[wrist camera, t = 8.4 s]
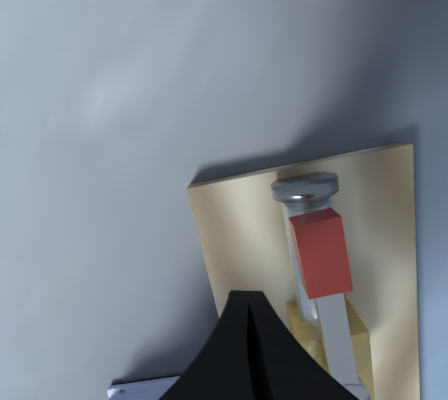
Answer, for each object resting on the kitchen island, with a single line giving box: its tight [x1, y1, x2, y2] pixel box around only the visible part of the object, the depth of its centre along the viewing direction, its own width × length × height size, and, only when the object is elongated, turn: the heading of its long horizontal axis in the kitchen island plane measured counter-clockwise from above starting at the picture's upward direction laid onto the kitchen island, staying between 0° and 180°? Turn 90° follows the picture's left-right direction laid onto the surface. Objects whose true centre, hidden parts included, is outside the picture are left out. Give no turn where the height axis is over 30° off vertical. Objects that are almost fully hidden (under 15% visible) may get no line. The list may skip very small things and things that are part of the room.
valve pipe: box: [271, 172, 375, 400], centre depth 19 cm, size 4×25×6 cm, turn 12°
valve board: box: [187, 142, 420, 400], centre depth 22 cm, size 15×26×2 cm, turn 12°
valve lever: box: [288, 208, 371, 400], centre depth 15 cm, size 13×2×1 cm, turn 15°
